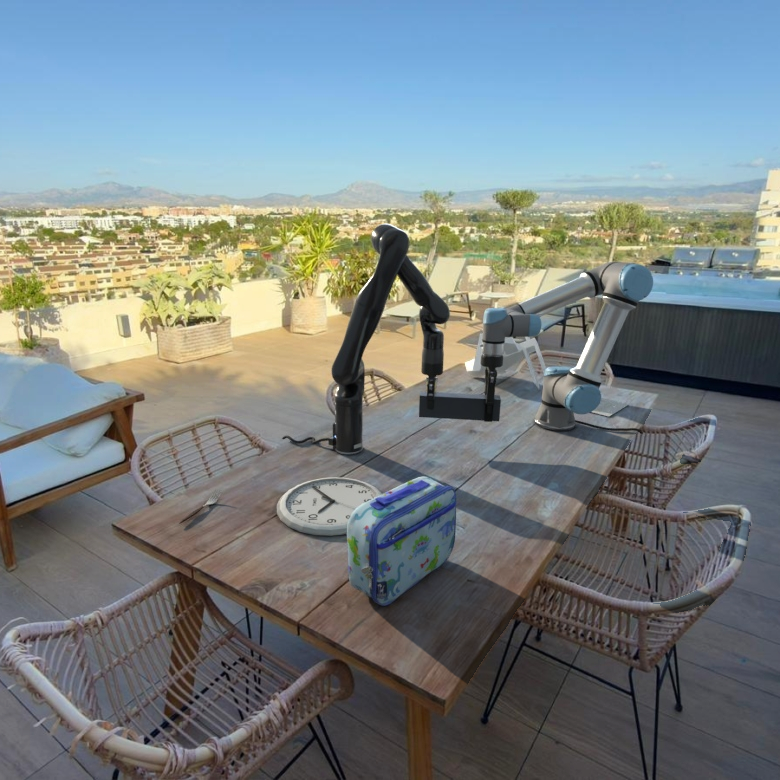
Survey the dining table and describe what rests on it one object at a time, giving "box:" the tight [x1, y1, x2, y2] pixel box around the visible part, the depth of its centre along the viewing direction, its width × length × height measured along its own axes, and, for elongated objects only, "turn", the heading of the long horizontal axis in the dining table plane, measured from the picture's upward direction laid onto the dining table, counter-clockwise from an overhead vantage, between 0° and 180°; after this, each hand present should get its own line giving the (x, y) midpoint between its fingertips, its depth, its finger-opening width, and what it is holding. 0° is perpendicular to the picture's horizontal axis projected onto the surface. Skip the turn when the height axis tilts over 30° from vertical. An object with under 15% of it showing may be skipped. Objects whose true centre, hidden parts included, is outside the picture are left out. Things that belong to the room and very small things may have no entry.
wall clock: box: [276, 476, 384, 537], centre depth 142 cm, size 30×2×30 cm
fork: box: [178, 489, 223, 525], centre depth 139 cm, size 3×16×2 cm, turn 160°
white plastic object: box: [464, 332, 547, 390], centre depth 260 cm, size 37×45×31 cm
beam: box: [418, 391, 502, 422], centre depth 185 cm, size 28×5×8 cm, turn 83°
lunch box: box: [346, 475, 457, 607], centre depth 111 cm, size 26×11×21 cm, turn 134°
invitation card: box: [591, 398, 629, 418], centre depth 226 cm, size 21×1×15 cm
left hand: (430, 406), depth 186 cm, fingers closed on beam, 5 cm apart
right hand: (487, 418), depth 185 cm, fingers closed on beam, 5 cm apart
